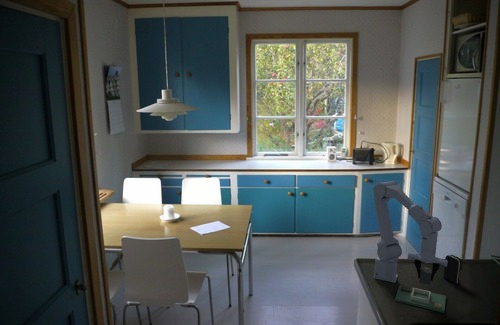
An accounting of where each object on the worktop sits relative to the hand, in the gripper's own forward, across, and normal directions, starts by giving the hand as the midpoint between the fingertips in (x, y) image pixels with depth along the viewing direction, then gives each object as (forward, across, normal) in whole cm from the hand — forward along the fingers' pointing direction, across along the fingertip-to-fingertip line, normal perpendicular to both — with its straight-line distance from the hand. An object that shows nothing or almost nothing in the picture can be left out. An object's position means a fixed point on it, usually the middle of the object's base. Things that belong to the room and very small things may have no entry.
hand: (425, 278), depth 161 cm
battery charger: (+9, +10, +22) cm, 25 cm away
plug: (+2, 0, 0) cm, 2 cm away
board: (+8, -1, -2) cm, 9 cm away
